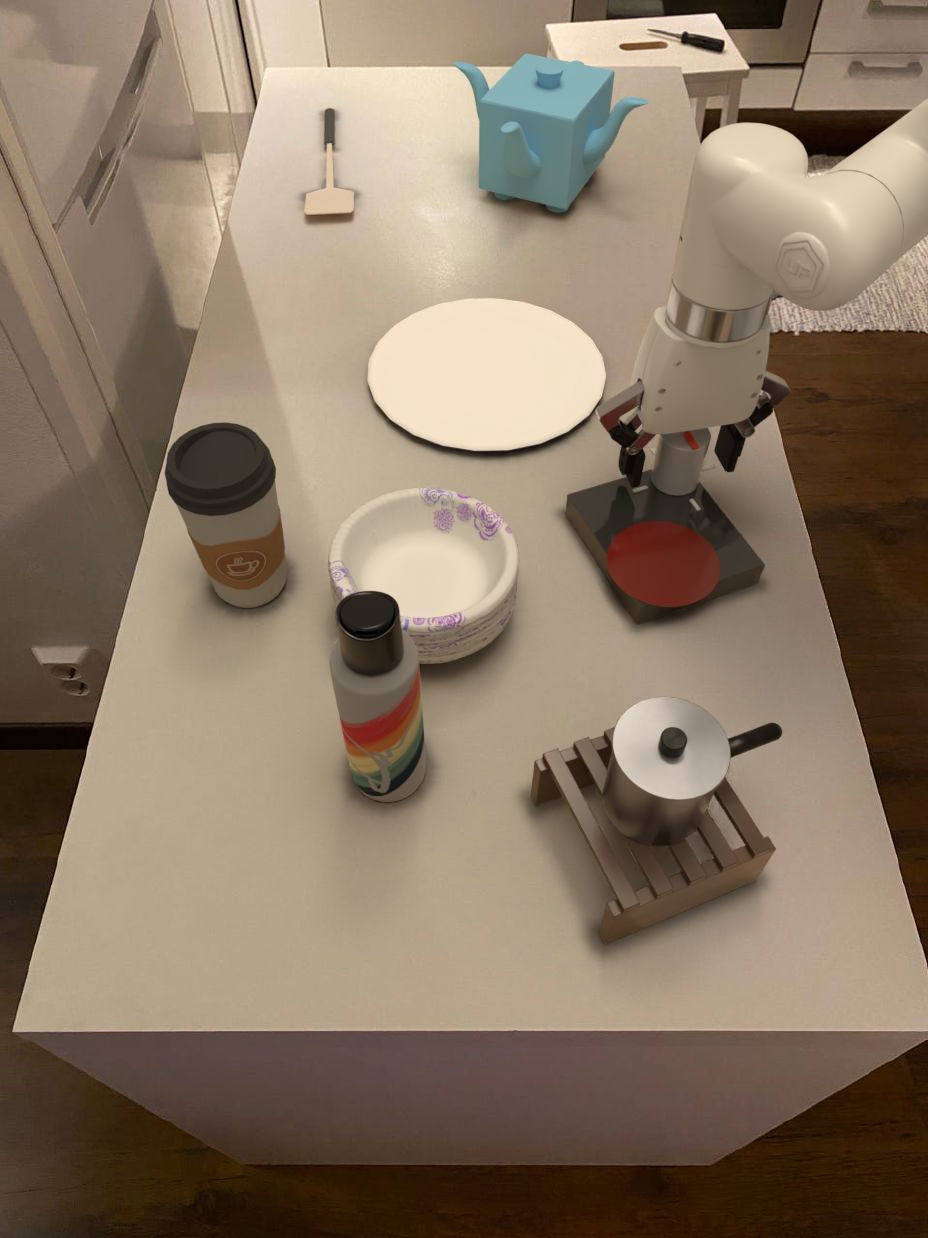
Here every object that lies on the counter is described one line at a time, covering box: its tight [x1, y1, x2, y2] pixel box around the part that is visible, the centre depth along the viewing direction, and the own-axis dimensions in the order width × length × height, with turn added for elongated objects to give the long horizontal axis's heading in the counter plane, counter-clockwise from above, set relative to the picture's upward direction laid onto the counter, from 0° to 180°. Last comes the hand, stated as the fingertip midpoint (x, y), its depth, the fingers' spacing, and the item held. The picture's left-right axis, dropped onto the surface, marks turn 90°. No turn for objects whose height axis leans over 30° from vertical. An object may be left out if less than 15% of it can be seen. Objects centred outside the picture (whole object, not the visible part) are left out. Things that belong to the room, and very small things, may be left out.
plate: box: [366, 297, 607, 453], centre depth 99 cm, size 25×25×1 cm
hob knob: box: [651, 428, 712, 496], centre depth 85 cm, size 4×4×6 cm
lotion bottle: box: [328, 591, 427, 803], centre depth 64 cm, size 6×6×20 cm
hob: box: [564, 447, 766, 626], centre depth 85 cm, size 14×16×3 cm
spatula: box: [303, 107, 355, 216], centre depth 126 cm, size 6×29×2 cm, turn 5°
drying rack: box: [530, 726, 777, 946], centre depth 66 cm, size 12×12×6 cm
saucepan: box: [602, 696, 783, 847], centre depth 61 cm, size 7×13×8 cm, turn 112°
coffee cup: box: [164, 421, 288, 609], centre depth 77 cm, size 8×8×15 cm
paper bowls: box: [327, 487, 520, 665], centre depth 78 cm, size 15×15×8 cm
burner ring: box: [607, 521, 720, 607], centre depth 81 cm, size 10×10×1 cm
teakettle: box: [453, 52, 650, 213], centre depth 117 cm, size 19×19×15 cm
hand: (677, 468), depth 86 cm, fingers open, 8 cm apart
